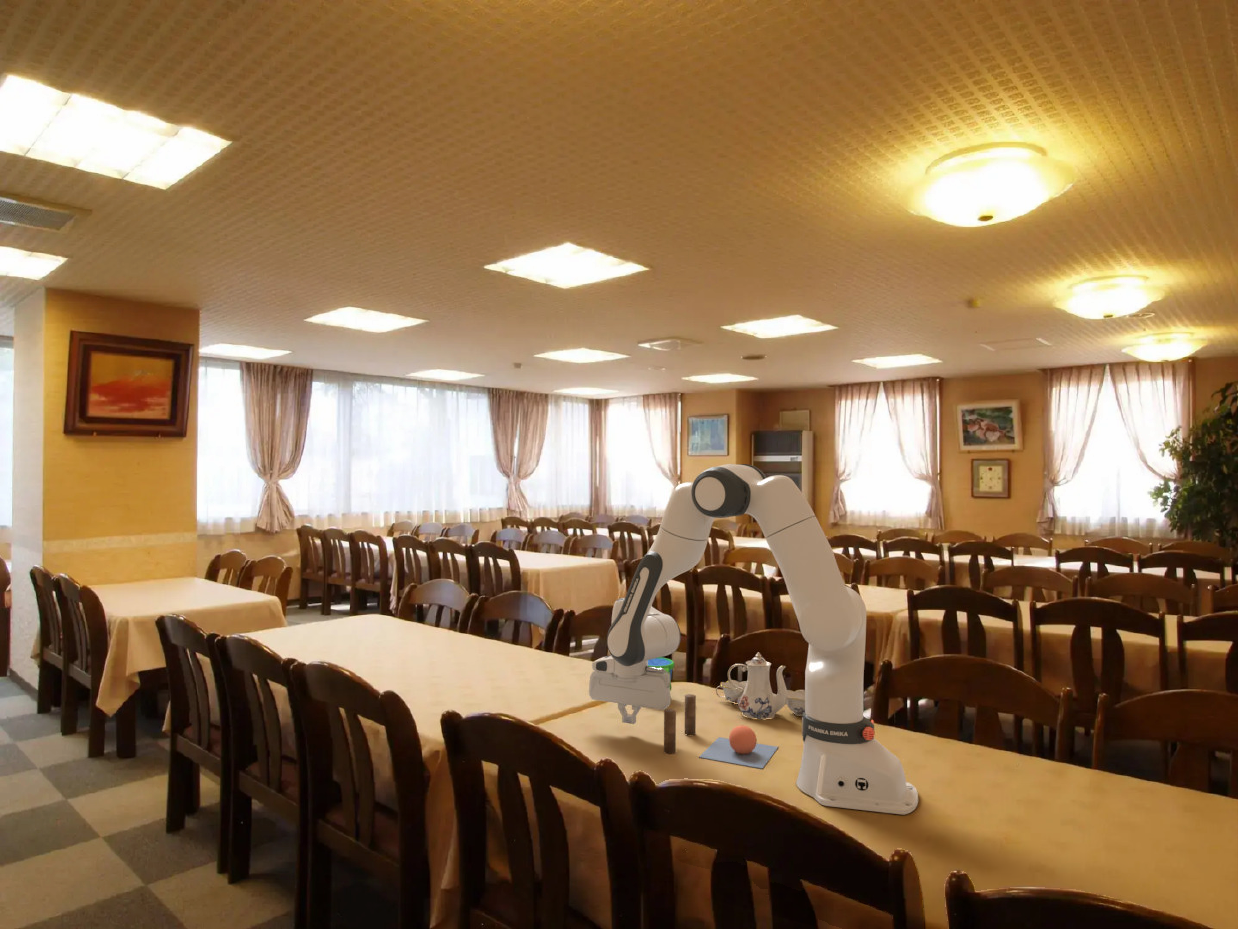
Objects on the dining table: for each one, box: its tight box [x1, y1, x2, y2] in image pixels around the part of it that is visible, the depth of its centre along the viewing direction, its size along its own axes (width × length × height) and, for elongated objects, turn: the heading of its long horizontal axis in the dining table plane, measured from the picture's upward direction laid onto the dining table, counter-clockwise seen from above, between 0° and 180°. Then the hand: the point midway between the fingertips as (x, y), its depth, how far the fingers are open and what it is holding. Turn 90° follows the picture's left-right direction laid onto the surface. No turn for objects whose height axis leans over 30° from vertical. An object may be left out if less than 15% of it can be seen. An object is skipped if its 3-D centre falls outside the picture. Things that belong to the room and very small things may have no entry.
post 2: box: [684, 693, 697, 736], centre depth 175 cm, size 3×3×9 cm
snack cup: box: [648, 656, 675, 692], centre depth 204 cm, size 16×10×10 cm
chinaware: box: [715, 652, 805, 719], centre depth 193 cm, size 28×17×17 cm, turn 64°
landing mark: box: [698, 736, 779, 770], centre depth 163 cm, size 14×14×1 cm
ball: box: [728, 725, 758, 754], centre depth 162 cm, size 6×6×6 cm
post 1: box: [663, 708, 677, 755], centre depth 163 cm, size 3×3×9 cm
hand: (629, 722), depth 174 cm, fingers closed
